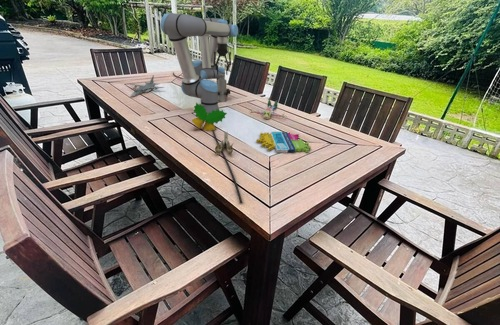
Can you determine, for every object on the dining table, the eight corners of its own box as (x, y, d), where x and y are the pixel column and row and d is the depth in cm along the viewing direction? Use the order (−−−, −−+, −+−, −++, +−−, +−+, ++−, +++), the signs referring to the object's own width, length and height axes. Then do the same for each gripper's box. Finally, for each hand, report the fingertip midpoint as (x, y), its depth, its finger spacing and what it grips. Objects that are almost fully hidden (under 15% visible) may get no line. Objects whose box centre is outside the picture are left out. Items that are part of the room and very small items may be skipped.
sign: (313, 150, 142) (258, 149, 139) (312, 153, 143) (258, 152, 140) (301, 132, 164) (254, 130, 161) (301, 134, 165) (254, 133, 162)
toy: (290, 101, 205) (286, 112, 179) (289, 110, 208) (285, 122, 182) (256, 97, 210) (247, 107, 184) (255, 106, 213) (246, 117, 187)
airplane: (124, 87, 237) (122, 75, 232) (159, 84, 250) (158, 74, 245) (128, 99, 208) (126, 87, 203) (168, 96, 222) (167, 84, 217)
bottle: (225, 102, 217) (226, 76, 206) (217, 101, 216) (217, 75, 206) (226, 99, 223) (226, 74, 213) (217, 99, 223) (217, 73, 212)
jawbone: (234, 135, 144) (233, 125, 135) (233, 160, 138) (232, 151, 129) (217, 135, 144) (216, 125, 135) (216, 160, 138) (214, 150, 129)
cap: (224, 77, 208) (224, 75, 207) (219, 77, 208) (219, 74, 207) (224, 76, 212) (224, 74, 211) (219, 76, 212) (219, 73, 211)
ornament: (218, 133, 171) (224, 110, 169) (221, 134, 163) (227, 111, 161) (186, 125, 162) (192, 101, 160) (189, 126, 155) (195, 101, 153)
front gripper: (209, 43, 193) (210, 75, 205) (235, 44, 196) (234, 75, 208) (209, 41, 200) (209, 73, 211) (234, 43, 203) (233, 73, 214)
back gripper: (232, 92, 235) (234, 99, 216) (209, 91, 232) (209, 99, 213) (232, 84, 232) (234, 90, 212) (209, 83, 229) (209, 89, 209)
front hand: (222, 74), depth 209 cm, fingers open, 7 cm apart
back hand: (222, 94), depth 212 cm, fingers closed on bottle, 7 cm apart
